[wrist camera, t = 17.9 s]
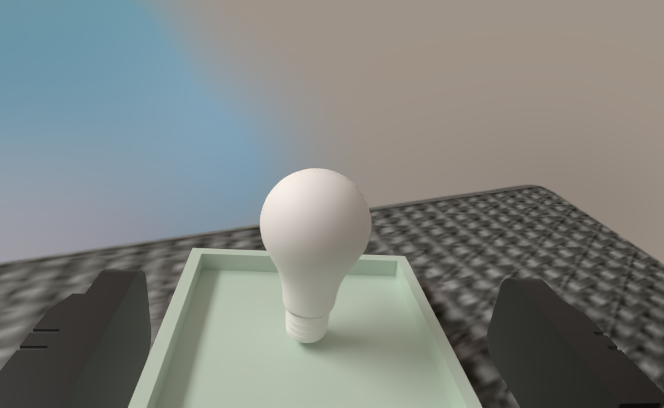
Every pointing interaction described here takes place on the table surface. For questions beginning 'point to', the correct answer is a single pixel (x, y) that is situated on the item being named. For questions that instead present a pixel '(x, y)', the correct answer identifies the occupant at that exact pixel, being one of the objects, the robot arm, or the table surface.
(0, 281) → the table surface
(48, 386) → the robot arm
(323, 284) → the lightbulb
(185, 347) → the parts tray
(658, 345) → the table surface
